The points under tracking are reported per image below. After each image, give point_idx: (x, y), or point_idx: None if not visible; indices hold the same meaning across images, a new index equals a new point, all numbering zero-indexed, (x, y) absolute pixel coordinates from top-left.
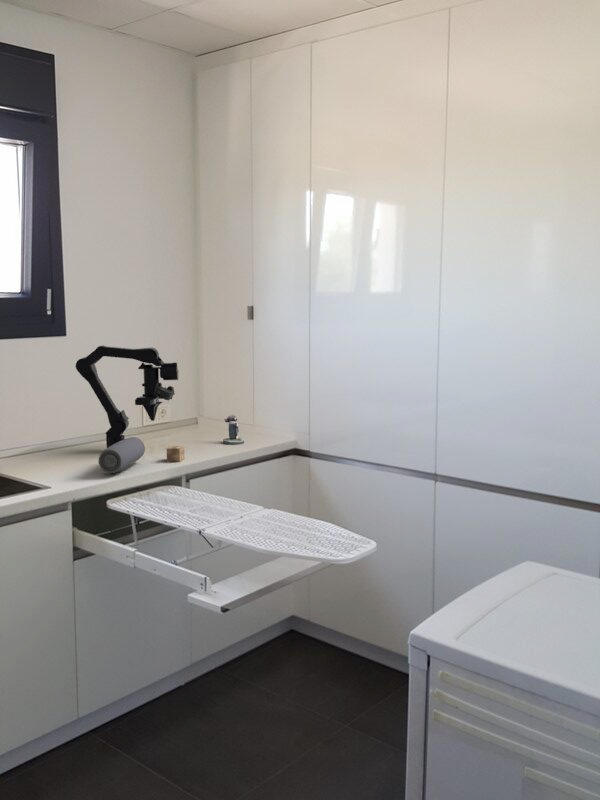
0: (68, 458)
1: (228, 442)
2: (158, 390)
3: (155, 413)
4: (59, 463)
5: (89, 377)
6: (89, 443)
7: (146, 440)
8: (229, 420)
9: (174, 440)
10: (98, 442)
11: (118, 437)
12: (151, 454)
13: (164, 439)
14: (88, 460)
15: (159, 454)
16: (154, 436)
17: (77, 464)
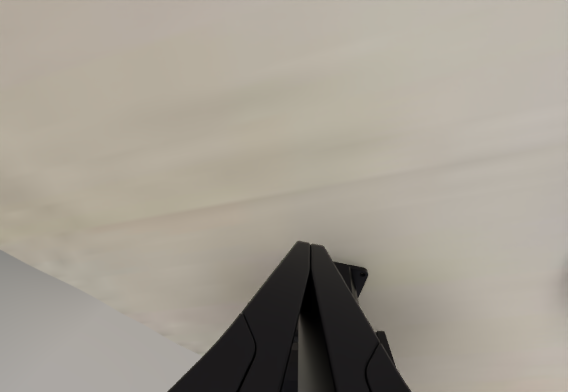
0: (425, 376)
1: None
2: None
3: (291, 300)
4: (502, 388)
5: None
6: (198, 353)
7: (93, 218)
8: None
9: (33, 91)
10: (178, 338)
11: (383, 334)
12: (413, 133)
13: (38, 149)
14: (481, 336)
15: (424, 84)
16: (8, 203)
17: (546, 354)
